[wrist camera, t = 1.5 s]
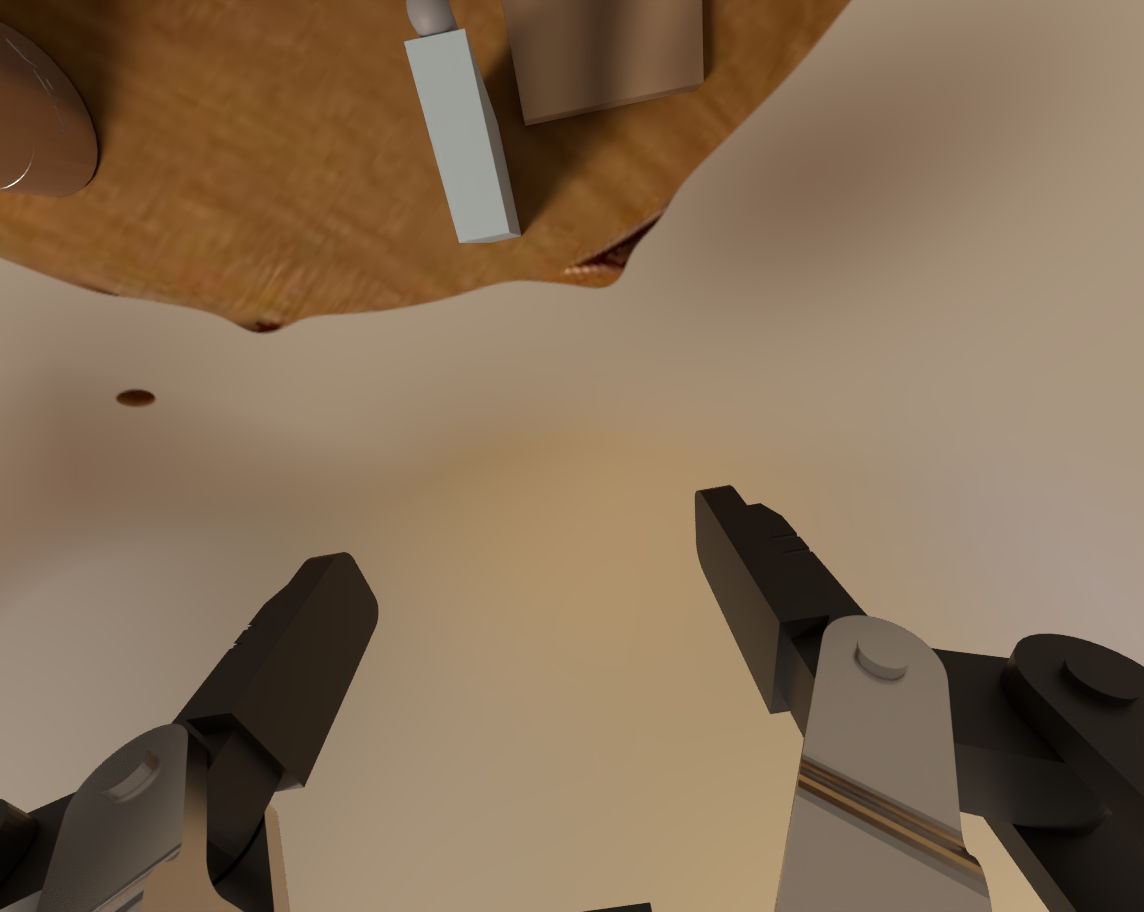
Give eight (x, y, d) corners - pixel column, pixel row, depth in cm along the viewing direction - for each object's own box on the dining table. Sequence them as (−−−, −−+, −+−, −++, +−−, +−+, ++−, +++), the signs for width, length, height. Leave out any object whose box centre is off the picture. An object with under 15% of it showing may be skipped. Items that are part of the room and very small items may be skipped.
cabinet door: (490, 242, 31) (459, 242, 19) (456, 100, 27) (387, -17, 15) (521, 236, 31) (509, 232, 19) (491, 92, 27) (451, -31, 15)
